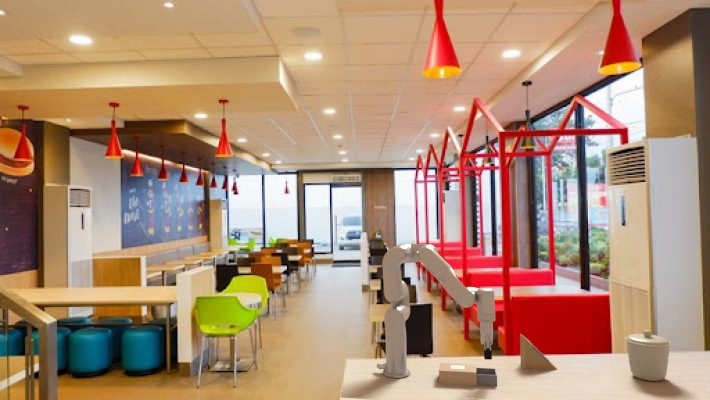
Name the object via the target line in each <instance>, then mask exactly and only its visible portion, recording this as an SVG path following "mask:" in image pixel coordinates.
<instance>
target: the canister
mask: <svg viewBox="0 0 710 400" xmlns="http://www.w3.org/2000/svg"><path fill="white" fill-rule="evenodd" d="M624 341H625V342H626V348H627V355H628V357H627V358H628V361H629V368H630V372H631V374H632V375H633V376H634V377H635V378H637V379H639V380H644V381H648V382H656V381H657V382H659V381H663V380H664V379H666V377H667V372H668V364H669V355H670V347H671V346H672V342H671V341H670V340H668V339H667V338H666V337H663V336H659V335H656V334H653V332H652V331H651V330H650V329H644V330H643V331H642V333H632V334H629V335H627V336H626V337H624Z"/></svg>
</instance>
